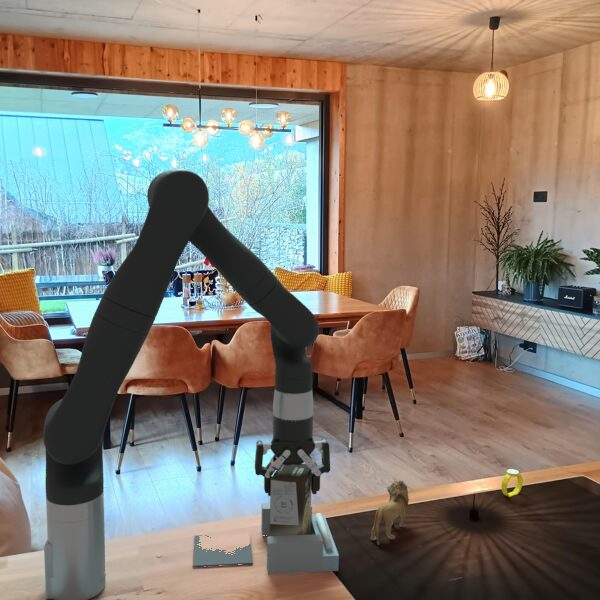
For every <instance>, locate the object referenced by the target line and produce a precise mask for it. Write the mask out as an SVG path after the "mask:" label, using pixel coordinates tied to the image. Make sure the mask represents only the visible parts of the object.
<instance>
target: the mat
mask: <svg viewBox="0 0 600 600" xmlns="http://www.w3.org/2000/svg"><path fill="white" fill-rule="evenodd" d="M202 535H203V534H202ZM202 535H198V534H197V535H194V540H193V541H194V543H193V556H192V558H193V559H192V568H193V567H197V568H209V567H208V566H217V567H220V566H219V565H237V566H239V565H238V564H243V565H242V566H246V565H245V564H253V565H254V561H253V552H252V551H253V550H252V544H251V545H250V544H249V545H248V546H245V547H243V548H240V547H239V548H238V549H237V548H236V550H234V551H235V552H234V551H232V552H234V553H235V554H234V553H231V552H228V553H231V554H233V555H231V554H228V553H227V554H225V553H226V552H224V551H226V550H222V551H221V550H219V549H216V550H215V551H212V550H210V549H209V550H206V549H207V548H206V549H203V550H202V547H201V546H199V545H197V544H199V543H201V542H199V540H200V539H199V538H200V537H199V536H202ZM204 535H205V536H207V535H208V534H204ZM207 537H209V536H207ZM210 538H211V537H210ZM194 544H195V545H194ZM200 545H201V544H200ZM199 547H200V548H199ZM211 549H212V548H211ZM240 549H241V550H240ZM206 551H207V552H206ZM219 551H221V552H219ZM204 566H206V567H204Z"/></svg>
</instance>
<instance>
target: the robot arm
mask: <svg viewBox="0 0 600 600" xmlns="http://www.w3.org/2000/svg"><path fill="white" fill-rule="evenodd" d="M146 194H147V196H146V197H147V203H148V207H149V209H148V212H147V215H146V217H145V220H144V223H143V226H142V229H141V231H140V234H139V236H138V238H137V240H136V242H135V243H134V245H133V247H132V248H131V250H130V251H129V254H128V255H126V258H125V259H124V260H123V261H122V263H121V264H120V266H119V267H118V269H117V270H116V271H115V273H114V275H113V276H112V277H111V280H110V281H109V283H108V285H107V286H106V288H105V290H104V292H103V293H102V296H101V298H100V301H99V303H98V305H97V306H96V310H95V312H94V314H93V317H92V319H91V322H90V325H89V327H88V330H87V333H86V336H85V340H84V343H83V347H82V352H81V355H80V358H79V361H78V362H79V363H78V365H77V368H76V372H75V374H74V377H73V378H72V381H71V383H70V384H69V387H68V388H67V390H66V391H65V394H64V396H63V397H62V398H61V399H59V400H58V401H56V402H55V403H54V404H53V405H52V406H51V407H50V408H49V410H48V411H47V413H46V416H45V419H44V423H43V424H44V425H43V430H42V440H43V445H44V448H45V504H46V507H45V508H46V531H47V532H46V534H47V535H46V537H47V540H46V541H45V543H44V545H43V552H44V553H43V556H44V558H43V559H44V584H45V586H44V587H45V588H44V589H45V599H46V600H49V599H50V600H89V599H92V598H94V597H96V596H98V595H99V594H100V593H102V592H103V590H104V589H105V586H106V576H107V575H106V545H105V544H106V542H105V541H106V539H105V538H106V537H105V506H104V505H105V499H104V498H105V497H104V496H105V495H104V491H105V490H104V486H105V483H104V460H103V459H104V458H103V457H104V456H103V454H104V453H103V451H104V450H103V437H104V434H105V431H106V427H107V423H108V421H109V417H110V415H111V412H112V409H113V406H114V403H115V400H116V398H117V397H118V393H119V390H120V389H121V387H122V384H123V383H124V381H125V379H126V378H127V375H128V374H129V372H130V371H131V368H132V367H133V364H134V363H135V361H136V360H137V358H138V355H139V353H140V351H141V350H142V348H143V346H144V343H145V341H146V339H147V337H148V336H149V334H150V331H151V330H152V327H153V326H154V325H153V324H154V322H155V321H156V318H157V315H158V313H159V311H160V308H161V305H162V304H163V300H164V298H165V296H166V294H167V291H168V289H169V286H170V284H171V281H172V278H173V275H174V272H175V270H176V267H177V264H178V262H179V260H180V258H181V256H182V254H183V252H184V250H185V249H186V247H187V245H188V243H189V242H190V243H191V244H192V245H193V246H194V247H195V248H196V249H197V250H198V251H199V252H200V253H201V254H202V255H203V256H204V257H205V258H206V259H207V260H208V262H210V264H211V265H212V266H213V267H214V268H215V269H216V270H217V272H218V273H219V274H220V275H221V277H223V278H224V280H225V281H226V282H227V283H228V284H229V285H230V286H231V287H232V288H233V289H234V291H235V292H236V293H237V294H238V295H239V296H240V297H241V298H242V299H243V300H244V302H246V303H247V305H248V306H249V307H250V308H251V309H253V310H254V311H255V312H256V313H258V314H260V315H261V316H262V317H264V319H266V320H267V321H268V323H269V324H270V330H269V331H270V342H271V347H272V354H273V359H274V364H275V370H274V392H273V393H274V394H273V405H272V413H273V415H272V420H273V421H272V440H271V442H264V441H262V440H260V439H259V440H257V441H256V442H255V443H256V444H255V457H254V459H255V460H254V472H255V475H256V476H262V477H263V489H264V490H263V491H264V492H265V494H267V496H268V497H270V494H271V478H272V476H273V475H274V473H275V472H276V470H277V469H278V468H279V467H280V466H281V464H285V466H286V465H292V464H295V465H301V464H306V465H307V466H308V467H309V468H310V469H311V470H312V479H311V495H317V493H318V492H320V489H321V476H322V475H323V474H325V473H326V474H328V473H330V472H331V457H330V456H331V455H330V453H331V452H330V451H331V450H330V444H329V441H328V440H327V438H322V439H321V440H315V441H314V439H313V437H314V432H313V431H314V395H313V378H314V377H313V376H314V375H313V364H312V361H311V360H310V358H309V356H308V355H307V350H306V348H308V347H310V346H311V345H312V344H314V343H315V342H316V340H317V339H318V336H319V332H320V328H319V327H320V326H319V322H318V319H317V318H316V316H315V315H314V314H313V312H312V311H311V309H309V308H308V307H307V306H306V305H305V304H304V303H303V302H302V301H301V300H299V299H298V298H297V297H296V296H295V295H294V294H293V293H292V292H290V291H289V290H288V289H286V287H285V286H284V285H283V284H282V282H281V280H280V279H278V277H277V276H276V275H275V273H273V272H272V271H271V270H270V268H269V267H268V266H267V265H266V264H265V263H264V262H263V261H262V260H261V258H260V257H259V256H258V255H256V254H255V253H254V252H253V251H251V249H249V248H248V246H246V245H245V244H244V243H243V242H242V241H241V240H239V239H238V238H237V237H236V236H235V235H234V234H232V233H231V232H230V231H229V229H227V227H225V225H223V223H222V222H221V221H220V220H219V219H218V217H217V216H216V215H215V213H214V212H213V211H212V209H211V208H210V207H209V202H210V194H209V189H208V186H207V183H206V182H205V180H204V179H203V178H202V177H201V176H200V175H199V174H198V173H196V172H194V171H191V170H190V169H189V170H188V169H182V168H181V169H180V168H178V169H169V170H165V171H163V172H161V173H159V174H157V175H156V176H154V178H152V180H151V182H150V183H149V186H148V188H147V193H146ZM315 448H316V449H317V450H318V452H319V453H321V464H317V463H316V461H315V460H314V459H313V457H312V456H311V454H312V453H313V452H314V451H315ZM269 450H271V452H272V453H273V456H272V457H271V458H270V460H269V462H268V463H267V464H266V466H263V462H264V461H263V460H264V456H265V455H267V453H268V451H269Z"/></svg>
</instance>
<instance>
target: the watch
mask: <svg viewBox="0 0 600 600" xmlns="http://www.w3.org/2000/svg"><path fill="white" fill-rule="evenodd" d="M512 477H514V478H515V477H516V478H517V479H516V480H517V481H516V485H515V488H514V489H513V490H512V491H510V492H508V484H509V481H510V480H511V478H512ZM523 481H524V480H523V476H522V474H521V473H520V472H519V470H517V469H513V468H509V469H506V474H505V475H504V476H503V479H502V482H501V491H502V493H503V495H504V496H506V497H508V498H512V497H514V496H517V495H519V494H520V492H521V490H522V487H523V485H524V484H523V483H524V482H523Z"/></svg>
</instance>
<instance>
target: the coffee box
mask: <svg viewBox="0 0 600 600" xmlns="http://www.w3.org/2000/svg"><path fill="white" fill-rule="evenodd" d="M311 479H312V470H311V469H310V468H309V467H308V466H307V465H306V463H302V464H301V465H295V464H292V465H286V466H285V464H281V466H280V467H279V468H278V469H277V470H276V471H275V472H274V473H273V475H272V478H271V494H270V496H269V497H270V498H269V499H270V500H269V501H270V502H269V503H270V536H290V535H310V517H311V505H312V491H311Z"/></svg>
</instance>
